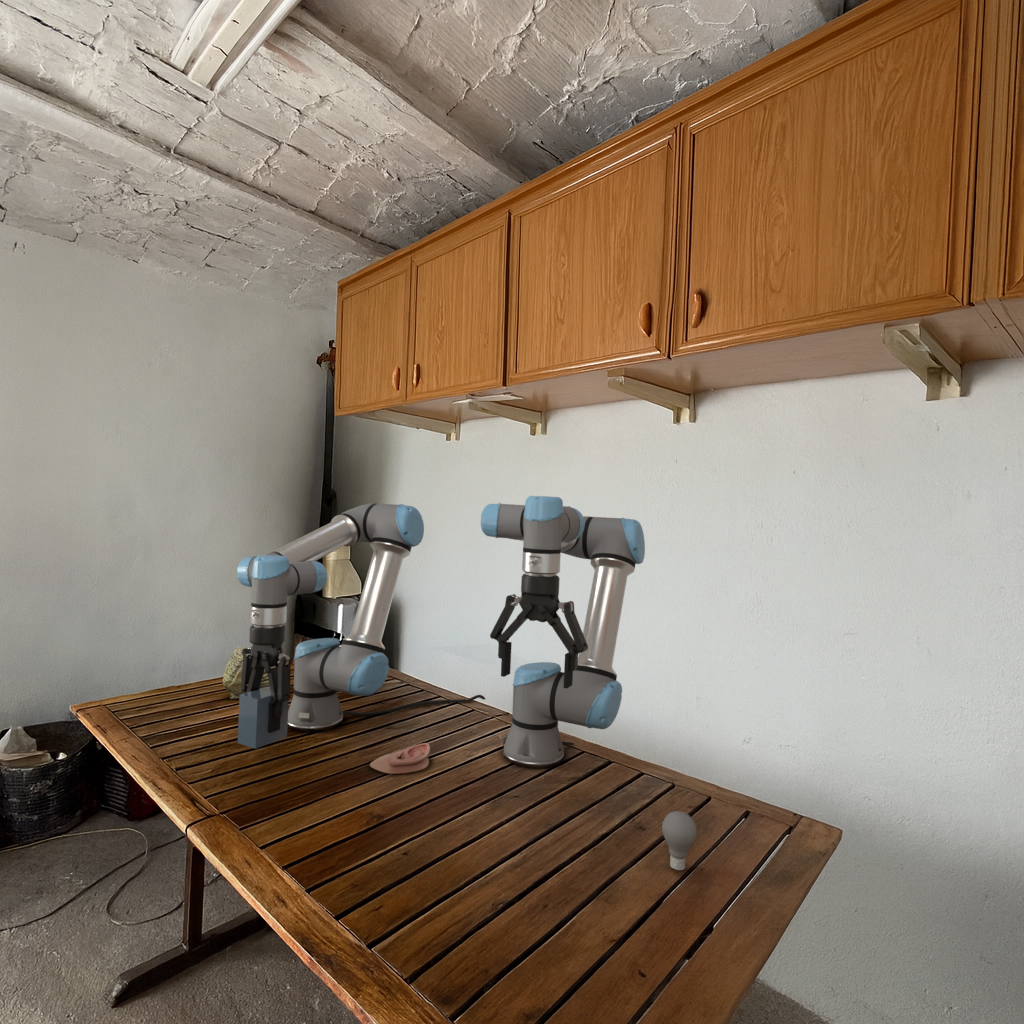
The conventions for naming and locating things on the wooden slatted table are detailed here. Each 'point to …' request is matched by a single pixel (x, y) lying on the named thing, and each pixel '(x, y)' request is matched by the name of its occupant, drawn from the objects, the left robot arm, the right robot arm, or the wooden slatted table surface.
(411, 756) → the anatomical model
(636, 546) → the right robot arm
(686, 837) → the light bulb
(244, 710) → the brick
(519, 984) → the wooden slatted table surface
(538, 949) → the wooden slatted table surface
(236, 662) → the fossil
